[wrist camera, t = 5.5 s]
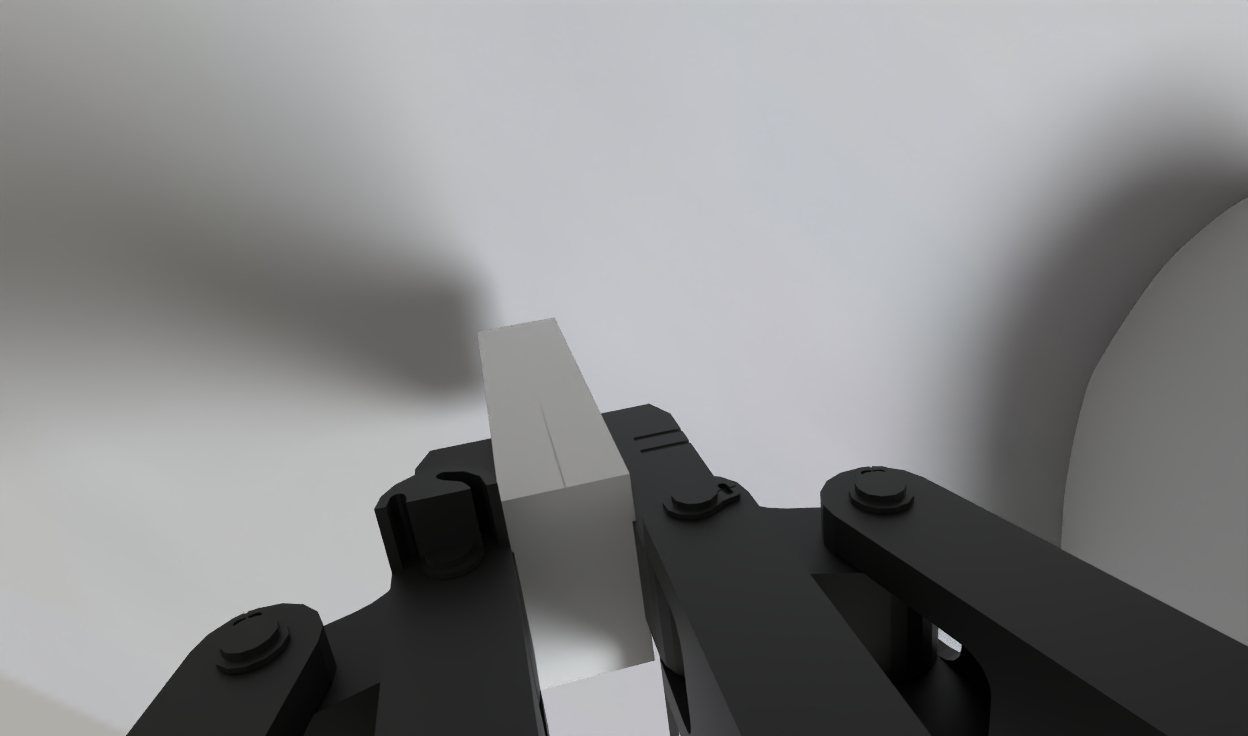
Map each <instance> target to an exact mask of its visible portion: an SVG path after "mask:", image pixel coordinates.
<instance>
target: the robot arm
mask: <svg viewBox="0 0 1248 736" xmlns="http://www.w3.org/2000/svg"><path fill="white" fill-rule="evenodd" d="M477 333H478V341H479V349H480V356H481V364H482V372H483V379H484V387H485V395H486V402H487V410H488V418H489V425H490V433H491V439H486V440H481V441H476V442H471V443H466V444H461V445H456V446H452V447H447V448H442V449H437V450H432V451H430V452H429V453H428V454H427V455H426V457H425V458H424V459H423V460H422V462H421V463H420V464H419V465H418V466H417V468H416V469H415V475H414V476H412V477H410V478H408V479H406V480H404V481H402V482H400V483H398V484H396V485H394V486H393V487H392V488H391V489H390V490H388V491H387V492H386V493H385V494H384V495H382V496H381V497H380V499H379V501H378V503H377V505H376V507H375V509H374V510H375V514H376V518H377V521H378V525H379V528H380V532H381V535H382V539H383V543H384V546H385V550H386V553H387V557H388V560H389V564H390V568H391V571H392V579H391V588H390V590H389V591H388V592H387V593H386V594H384V595H383V596H382V597H380V598H379V599H377V600H376V601H374V602H373V603H372V604H370V605H368V606H366V607H364V608H362V609H360V610H358V611H356V612H354V613H352V614H350V615H348V616H345V617H343V618H341V619H338V620H336V621H334V622H332V623H329V624H327V625H325V626H323V623H322V621H321V618H320V616H319V614H318V612H317V611H315V610H313V609H311V608H310V607H308V606H306V605H304V604H285V603H282V604H277V605H272V606H267V607H262V608H258V609H255V610H251V611H248V613H246V614H244V613H243V614H241V615H239V616H237V617H235V618H233V619H231V620H230V621H228V622H227V623H225V624H224V625H222V626H221V627H219V628H217V629H216V630H214V631H213V632H211V633H210V634H208V635H207V636H206V637H205V638H204V639H203V640H202V641H201V642H200V643H199V644H198V645H197V646H196V647H195V648H194V649H193V650H192V651H191V652H190V653H189V654H188V656H187V657H186V658H185V660H184V661H183V662H182V664H181V665H180V666H179V667H178V669H177V670H176V671H175V673H174V674H173V675H172V677H171V678H170V679H169V681H168V682H167V683H166V684H165V686H164V687H163V688H162V690H161V691H160V692H159V694H158V695H157V696H156V697H155V699H154V700H153V701H152V703H151V704H150V705H149V707H148V708H147V709H146V710H145V712H144V713H143V714H142V716H141V717H140V718H139V720H138V721H137V722H136V724H135V725H134V726H133V727H132V729H131V730H130V731H129V733H128V734H127V735H126V736H549V730H548V724H547V719H546V714H545V709H544V704H543V700H542V695H541V690H542V689H546V688H550V687H554V686H558V685H561V684H565V683H569V682H573V681H577V680H581V679H585V678H588V677H592V676H596V675H600V674H604V673H608V672H612V671H615V670H619V669H623V668H627V667H631V666H635V665H639V664H642V663H646V662H650V661H654V660H655V659H654V651H653V644H652V637H653V639H654V642H655V645H656V647H657V650H658V653H659V655H660V662H661V669H662V677H663V685H664V692H665V700H666V707H667V715H668V723H669V730H670V736H679V733H680V735H681V736H1248V646H1246V645H1244V644H1243V643H1241V642H1239V641H1237V640H1235V639H1233V638H1231V637H1229V636H1227V635H1225V634H1223V633H1221V632H1219V631H1218V630H1216V629H1214V628H1212V627H1210V626H1208V625H1206V624H1204V623H1202V622H1200V621H1198V620H1196V619H1194V618H1193V617H1191V616H1189V615H1187V614H1185V613H1183V612H1181V611H1179V610H1177V609H1175V608H1173V607H1171V606H1170V605H1168V604H1166V603H1164V602H1162V601H1160V600H1158V599H1156V598H1154V597H1152V596H1150V595H1148V594H1146V593H1145V592H1143V591H1141V590H1139V589H1137V588H1135V587H1133V586H1131V585H1129V584H1127V583H1125V582H1123V581H1121V580H1120V579H1118V578H1116V577H1114V576H1112V575H1110V574H1108V573H1106V572H1104V571H1102V570H1100V569H1098V568H1097V567H1095V566H1093V565H1091V564H1089V563H1087V562H1085V561H1083V560H1081V559H1079V558H1077V557H1075V556H1073V555H1072V554H1070V553H1068V552H1066V551H1064V550H1062V549H1060V548H1058V547H1056V546H1054V545H1052V544H1050V543H1048V542H1047V541H1045V540H1043V539H1041V538H1039V537H1037V536H1035V535H1033V534H1031V533H1029V532H1027V531H1025V530H1023V529H1022V528H1020V527H1018V526H1016V525H1014V524H1012V523H1010V522H1008V521H1006V520H1004V519H1002V518H1000V517H999V516H997V515H995V514H993V513H991V512H989V511H987V510H985V509H983V508H981V507H979V506H977V505H975V504H974V503H972V502H970V501H968V500H966V499H964V498H962V497H960V496H958V495H956V494H954V493H952V492H950V491H949V490H947V489H945V488H943V487H941V486H939V485H937V484H935V483H933V482H931V481H929V480H927V479H926V478H924V477H921V476H918V475H915V474H913V473H910V472H907V471H905V470H898V469H892V468H887V467H883V466H872V467H871V468H870V467H861V468H857V469H854V470H850V471H846V472H842V473H839V474H838V475H836V476H834V477H833V478H831V479H829V480H828V481H827V482H826V483H825V485H824V487H823V488H822V490H821V492H820V497H821V508H790V509H784V508H766V507H761V506H759V505H758V504H757V503H756V501H755V500H754V499H753V497H752V496H751V495H750V493H749V492H748V491H747V490H746V489H744V488H743V487H742V486H741V485H739V484H738V483H737V482H734V481H731V480H728V479H725V478H722V477H717V476H713V474H712V473H711V471H710V470H709V469H708V467H707V466H706V464H705V463H704V461H703V460H702V459H701V457H700V456H699V454H698V453H697V451H696V450H695V448H694V447H693V446H692V444H691V443H689V440H688V438H687V437H686V436H685V434H684V433H683V431H681V429H680V427H679V426H678V424H677V423H676V421H675V420H674V418H673V417H672V415H671V414H670V413H668V412H666V411H663V410H661V409H659V408H657V407H655V406H653V405H651V404H646V405H641V406H636V407H631V408H626V409H621V410H616V411H611V412H607V413H602V414H601V413H600V411H599V409H598V407H597V405H596V403H595V401H594V399H593V397H592V395H591V392H590V390H589V388H588V386H587V384H586V382H585V380H584V378H583V376H582V374H581V372H580V370H579V367H578V365H577V363H576V361H575V359H574V357H573V355H572V353H571V351H570V349H569V347H568V345H567V343H566V340H565V338H564V336H563V334H562V332H561V330H560V328H559V326H558V324H557V322H556V320H555V318H550V319H544V320H539V321H533V322H528V323H522V324H517V325H511V326H506V327H500V328H495V329H489V330H484V331H478V332H477ZM938 628H940V629H941V630H942V631H944V632H945V633H947V634H948V635H949V636H951V637H952V638H953V639H955V640H956V641H958V642H959V643H960V644H962V649H961V652H958V651H956V650H954V649H952V648H950V647H949V646H947V645H946V644H945V643H943V642H942V641H941V640H939V639H938ZM651 634H652V636H651Z"/></svg>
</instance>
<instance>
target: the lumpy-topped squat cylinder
mask: <svg viewBox="0 0 1248 736" xmlns="http://www.w3.org/2000/svg"><path fill="white" fill-rule="evenodd" d="M1061 549H1062V550H1064V551H1066V552H1068V553H1070V554H1072V555H1073V556H1075V557H1077V558H1079V559H1081V560H1083V561H1085V562H1087V563H1089V564H1091V565H1093V566H1095V567H1097V568H1098V569H1100V570H1102V571H1104V572H1106V573H1108V574H1110V575H1112V576H1114V577H1116V578H1118V579H1120V580H1121V581H1123V582H1125V583H1127V584H1129V585H1131V586H1133V587H1135V588H1137V589H1139V590H1141V591H1143V592H1145V593H1146V594H1148V595H1150V596H1152V597H1154V598H1156V599H1158V600H1160V601H1162V602H1164V603H1166V604H1168V605H1170V606H1171V607H1173V608H1175V609H1177V610H1179V611H1181V612H1183V613H1185V614H1187V615H1189V616H1191V617H1193V618H1194V619H1196V620H1198V621H1200V622H1202V623H1204V624H1206V625H1208V626H1210V627H1212V628H1214V629H1216V630H1218V631H1219V632H1221V633H1223V634H1225V635H1227V636H1229V637H1231V638H1233V639H1235V640H1237V641H1239V642H1241V643H1243V644H1244V645H1246V646H1248V197H1247V198H1245V199H1243V200H1241V201H1240V202H1238V203H1236V204H1235V205H1233V206H1232V207H1230V208H1229V209H1227V210H1226V211H1224V212H1223V213H1222V214H1220V215H1219V216H1218V217H1216V218H1215V219H1214V220H1212V221H1211V222H1210V223H1209V224H1207V225H1206V226H1205V227H1204V228H1203V229H1202V230H1200V231H1199V232H1198V233H1197V234H1196V235H1195V236H1194V237H1192V238H1191V239H1190V240H1189V241H1188V242H1187V243H1186V244H1185V245H1184V246H1183V247H1182V248H1180V249H1179V250H1178V251H1177V252H1176V253H1175V254H1174V255H1173V256H1172V257H1171V258H1170V260H1169V261H1168V262H1167V263H1166V264H1165V265H1164V266H1163V267H1162V269H1161V270H1160V271H1159V272H1158V274H1157V275H1156V276H1155V277H1154V279H1153V280H1152V281H1151V283H1150V284H1149V285H1148V287H1147V288H1146V290H1145V291H1144V292H1143V294H1142V295H1141V297H1140V298H1139V299H1138V301H1137V302H1136V304H1135V305H1134V307H1133V308H1132V310H1131V311H1130V313H1129V314H1128V316H1127V317H1126V319H1125V320H1124V322H1123V323H1122V325H1121V326H1120V328H1119V329H1118V331H1117V332H1116V334H1115V336H1114V337H1113V339H1112V340H1111V342H1110V344H1109V345H1108V347H1107V349H1106V350H1105V352H1104V354H1103V355H1102V357H1101V359H1100V360H1099V362H1098V364H1097V366H1096V368H1095V369H1094V371H1093V373H1092V376H1091V378H1090V381H1089V383H1088V386H1087V389H1086V393H1085V396H1084V399H1083V403H1082V407H1081V411H1080V415H1079V419H1078V423H1077V427H1076V432H1075V437H1074V441H1073V446H1072V451H1071V457H1070V462H1069V468H1068V474H1067V480H1066V487H1065V495H1064V505H1063V525H1062V536H1061Z"/></svg>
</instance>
